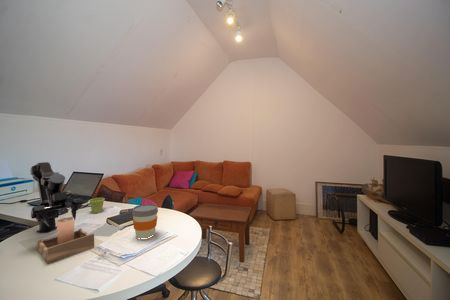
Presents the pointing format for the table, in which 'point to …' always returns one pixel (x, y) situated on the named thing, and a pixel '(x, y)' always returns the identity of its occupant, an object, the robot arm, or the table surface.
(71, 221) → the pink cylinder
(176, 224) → the table surface
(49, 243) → the open wooden box
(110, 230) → the grey mat
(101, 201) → the plant pot
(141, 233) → the reusable coffee cup
